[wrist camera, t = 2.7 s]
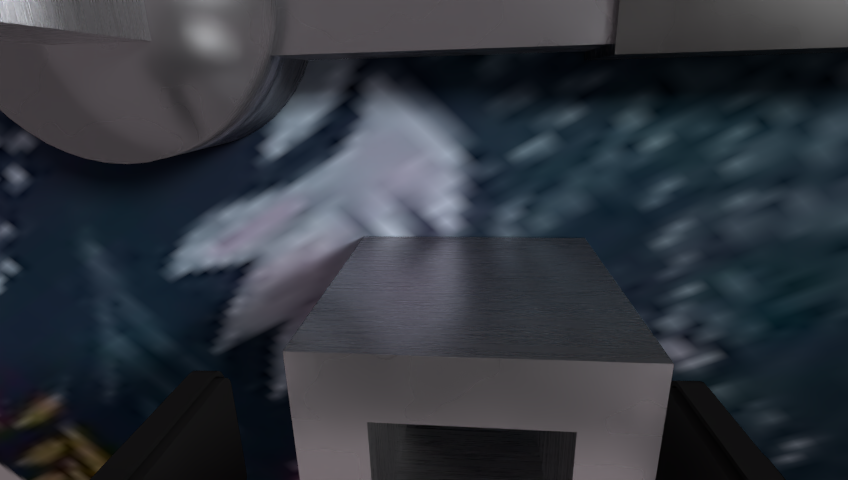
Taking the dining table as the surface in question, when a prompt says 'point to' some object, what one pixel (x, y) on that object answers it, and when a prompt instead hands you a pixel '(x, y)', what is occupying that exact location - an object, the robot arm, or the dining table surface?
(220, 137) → the ball knob lever
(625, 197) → the dining table surface
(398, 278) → the socket
